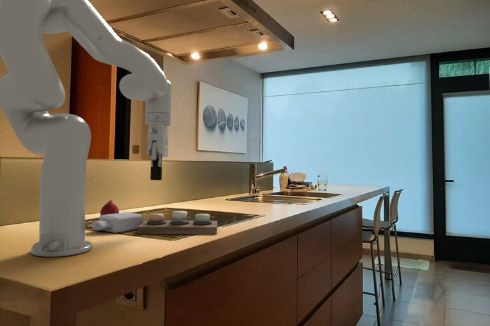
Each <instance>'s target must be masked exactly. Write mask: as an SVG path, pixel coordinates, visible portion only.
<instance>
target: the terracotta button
mask: <svg viewBox="0 0 490 326" xmlns="http://www.w3.org/2000/svg"><path fill="white" fill-rule="evenodd" d="M148 220H149V221H164V220H165V213H161V212H160V213H157V212H156V213H155V212H154V213H149V215H148Z"/></svg>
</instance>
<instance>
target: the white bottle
mask: <svg viewBox="0 0 490 326" xmlns="http://www.w3.org/2000/svg"><path fill="white" fill-rule="evenodd" d="M143 222H144V221H143V215H142V214H141V213H135V212H126V211H125V212H119V213H116V214H108V215H101V216H99V217H98V221H93V222H92V223H91V224H89V225H87V227H88V228H90V227H91V228H92V229H93V230H95V231H104V232H109V233H115V234H118V232H120V233H125V232H131V231H137V227H138V226H139V225H140V224H142V223H143Z"/></svg>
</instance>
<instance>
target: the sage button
mask: <svg viewBox="0 0 490 326" xmlns="http://www.w3.org/2000/svg"><path fill="white" fill-rule="evenodd" d="M194 215H195V219H194V221H198V222H206V221H211V215H210V214H209V213H197V214H194Z"/></svg>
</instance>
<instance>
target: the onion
mask: <svg viewBox="0 0 490 326" xmlns="http://www.w3.org/2000/svg"><path fill="white" fill-rule="evenodd" d="M116 213H120V209H119V207H118V206H117V205H116V204H115V203H113V200H112V199H110V200H108V201H107V202H106V203H105V204H104V205H103V206H102V207H101V209H100V212H99V215H100V216H101V215H108V214H116ZM100 216H99V217H100Z"/></svg>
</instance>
